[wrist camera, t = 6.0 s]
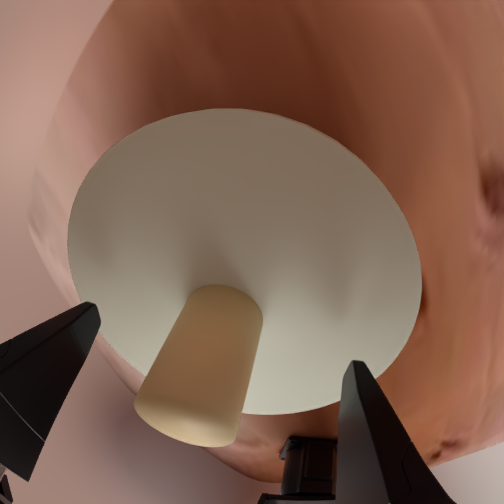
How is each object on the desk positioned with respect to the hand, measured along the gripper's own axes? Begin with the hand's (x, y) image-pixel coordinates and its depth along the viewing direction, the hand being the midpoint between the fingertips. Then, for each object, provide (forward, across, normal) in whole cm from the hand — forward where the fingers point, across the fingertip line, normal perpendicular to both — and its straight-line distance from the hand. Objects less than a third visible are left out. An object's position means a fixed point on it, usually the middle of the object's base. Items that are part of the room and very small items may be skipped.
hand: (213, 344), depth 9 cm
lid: (+4, 0, 0) cm, 4 cm away
